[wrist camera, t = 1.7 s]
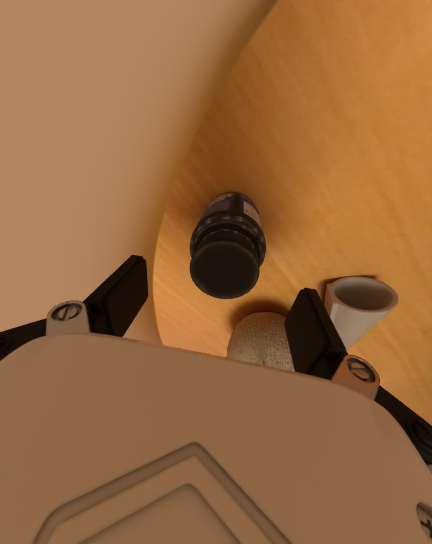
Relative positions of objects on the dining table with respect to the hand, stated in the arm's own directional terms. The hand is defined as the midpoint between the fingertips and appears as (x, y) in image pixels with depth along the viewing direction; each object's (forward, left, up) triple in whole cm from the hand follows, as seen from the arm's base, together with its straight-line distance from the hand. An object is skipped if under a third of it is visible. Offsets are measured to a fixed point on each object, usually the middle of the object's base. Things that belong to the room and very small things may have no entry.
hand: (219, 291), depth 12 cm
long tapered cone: (+23, +4, -13) cm, 26 cm away
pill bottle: (0, 0, -13) cm, 13 cm away
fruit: (+16, -5, -13) cm, 21 cm away
